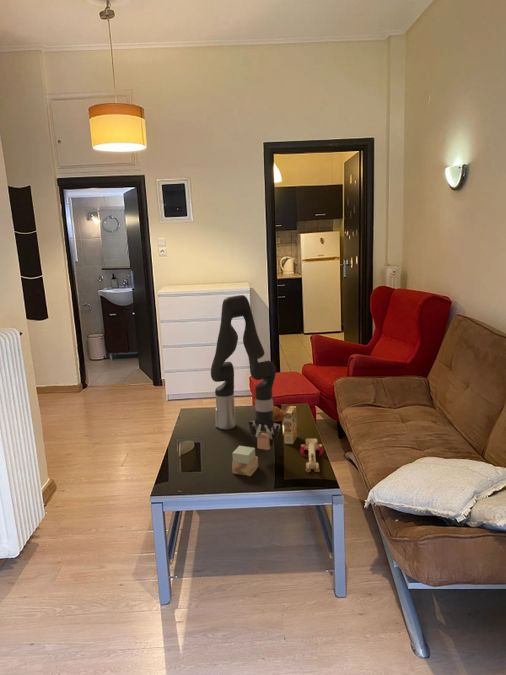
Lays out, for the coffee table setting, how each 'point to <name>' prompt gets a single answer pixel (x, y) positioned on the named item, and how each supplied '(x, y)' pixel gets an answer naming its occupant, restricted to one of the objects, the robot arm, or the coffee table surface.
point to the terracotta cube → (263, 441)
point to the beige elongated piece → (311, 454)
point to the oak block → (245, 467)
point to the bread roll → (277, 414)
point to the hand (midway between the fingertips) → (265, 445)
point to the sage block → (243, 455)
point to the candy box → (290, 425)
